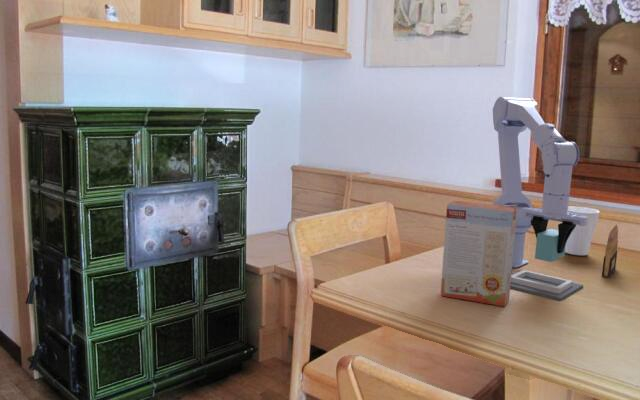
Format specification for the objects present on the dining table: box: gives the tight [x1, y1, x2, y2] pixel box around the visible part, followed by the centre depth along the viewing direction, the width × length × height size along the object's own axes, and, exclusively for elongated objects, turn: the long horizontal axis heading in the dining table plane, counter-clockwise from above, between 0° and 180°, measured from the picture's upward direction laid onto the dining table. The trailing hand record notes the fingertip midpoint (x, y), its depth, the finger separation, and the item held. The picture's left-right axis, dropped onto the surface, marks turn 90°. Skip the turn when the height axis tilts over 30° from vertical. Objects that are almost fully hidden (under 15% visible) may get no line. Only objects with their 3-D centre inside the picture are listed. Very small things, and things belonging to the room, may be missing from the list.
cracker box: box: [440, 200, 517, 307], centre depth 134 cm, size 14×6×21 cm, turn 64°
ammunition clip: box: [601, 224, 619, 279], centre depth 160 cm, size 11×2×12 cm, turn 148°
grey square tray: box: [510, 269, 584, 302], centre depth 147 cm, size 15×14×2 cm
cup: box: [565, 205, 600, 256], centre depth 178 cm, size 10×10×13 cm
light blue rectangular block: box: [534, 228, 566, 263], centre depth 146 cm, size 4×8×6 cm, turn 139°
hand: (550, 250), depth 146 cm, fingers closed on light blue rectangular block, 4 cm apart
